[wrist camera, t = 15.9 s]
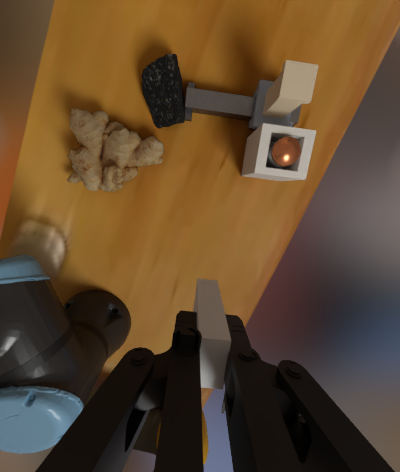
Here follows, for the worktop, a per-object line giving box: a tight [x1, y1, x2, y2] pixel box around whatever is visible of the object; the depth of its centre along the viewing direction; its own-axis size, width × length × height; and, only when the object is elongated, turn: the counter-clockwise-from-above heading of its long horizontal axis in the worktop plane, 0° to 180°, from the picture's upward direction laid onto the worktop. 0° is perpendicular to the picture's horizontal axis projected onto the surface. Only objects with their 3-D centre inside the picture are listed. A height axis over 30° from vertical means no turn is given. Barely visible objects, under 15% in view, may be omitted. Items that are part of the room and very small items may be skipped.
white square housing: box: [241, 123, 316, 181], centre depth 38 cm, size 8×7×10 cm
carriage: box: [248, 60, 318, 129], centre depth 34 cm, size 6×7×13 cm
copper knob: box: [266, 137, 301, 169], centre depth 35 cm, size 4×4×6 cm
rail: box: [185, 82, 301, 127], centre depth 39 cm, size 20×6×2 cm, turn 83°
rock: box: [142, 54, 185, 128], centre depth 37 cm, size 7×10×6 cm
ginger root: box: [67, 108, 164, 192], centre depth 39 cm, size 16×16×8 cm
